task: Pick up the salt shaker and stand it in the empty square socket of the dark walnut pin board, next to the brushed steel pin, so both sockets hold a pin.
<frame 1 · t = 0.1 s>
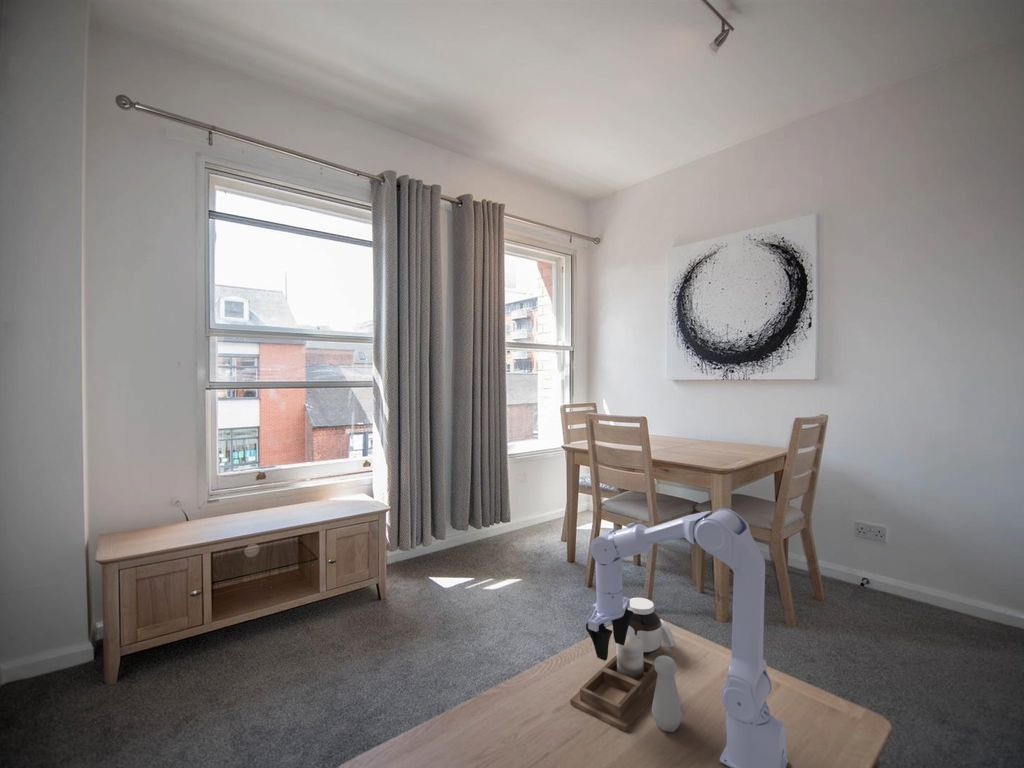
hand: (611, 650, 103), 10 cm above the table, tool pointing down, fingers open, 7 cm apart
spread jar: (648, 647, 122), on the table
pin board: (621, 691, 104), on the table
salt shaker: (667, 725, 94), on the table
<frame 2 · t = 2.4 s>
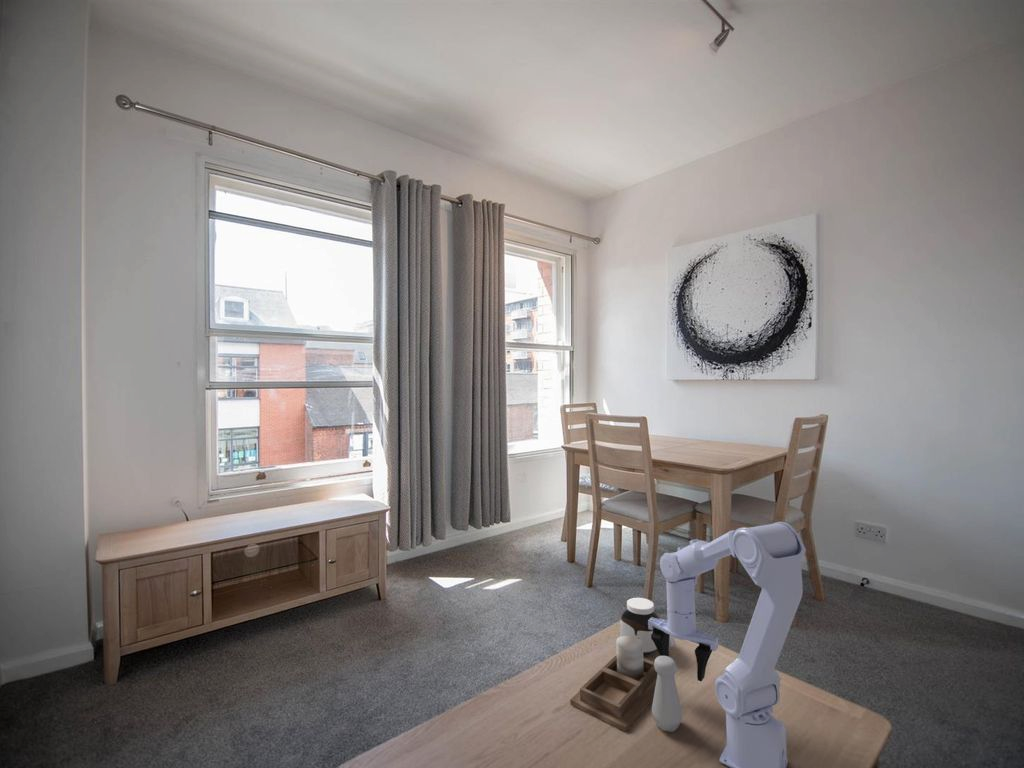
hand: (682, 671, 100), 6 cm above the table, tool pointing down, fingers open, 7 cm apart
nothing on the table moved.
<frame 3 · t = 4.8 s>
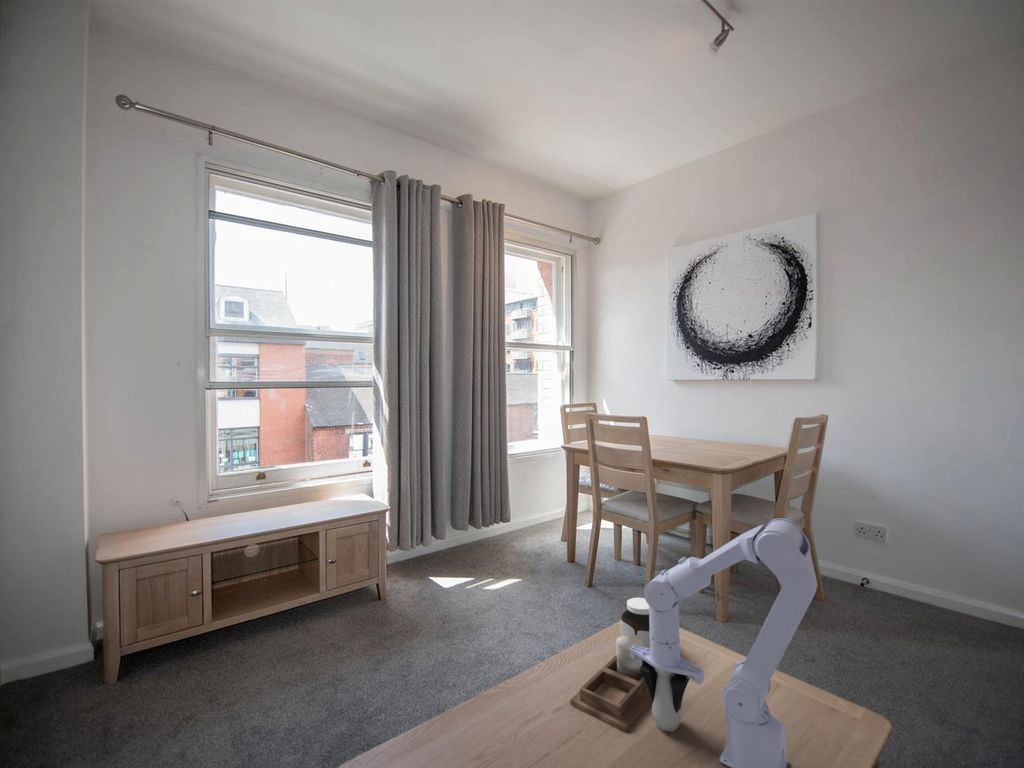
hand: (666, 705, 94), 4 cm above the table, tool pointing down, fingers closed on salt shaker, 4 cm apart
salt shaker: (667, 725, 94), on the table, touching gripper
everything else where it was.
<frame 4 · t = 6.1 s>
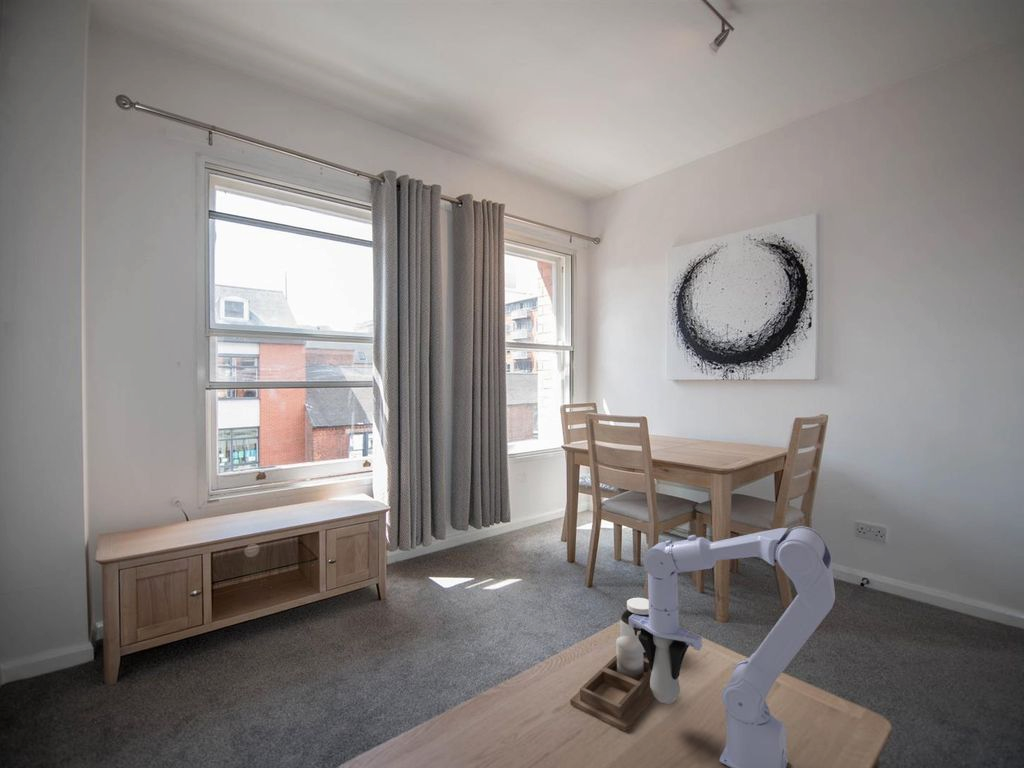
hand: (664, 672, 94), 10 cm above the table, tool pointing down, fingers closed on salt shaker, 4 cm apart
salt shaker: (664, 698, 94), point 5 cm above the table, touching gripper
everything else where it was.
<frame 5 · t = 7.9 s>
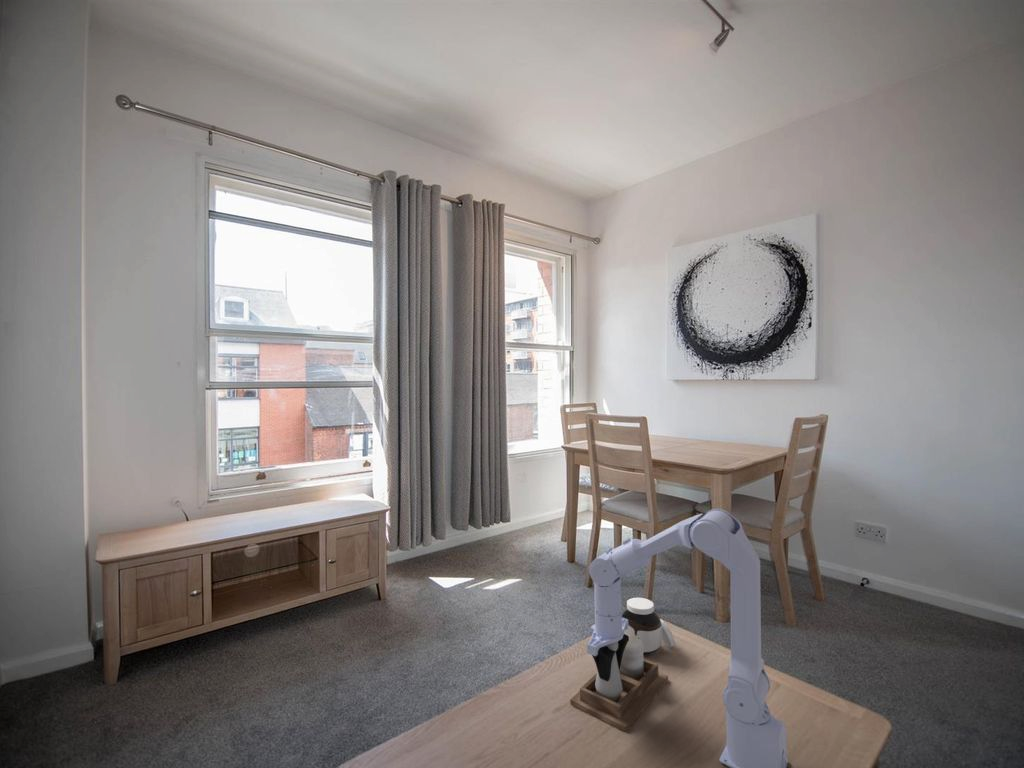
hand: (609, 673, 101), 6 cm above the table, tool pointing down, fingers closed on salt shaker, 4 cm apart
salt shaker: (609, 699, 101), point 1 cm above the table, touching gripper, pin board
everything else where it was.
when the fingers open (6 cm above the table, at t = 8.4 s): salt shaker stays where it is, resting on pin board.
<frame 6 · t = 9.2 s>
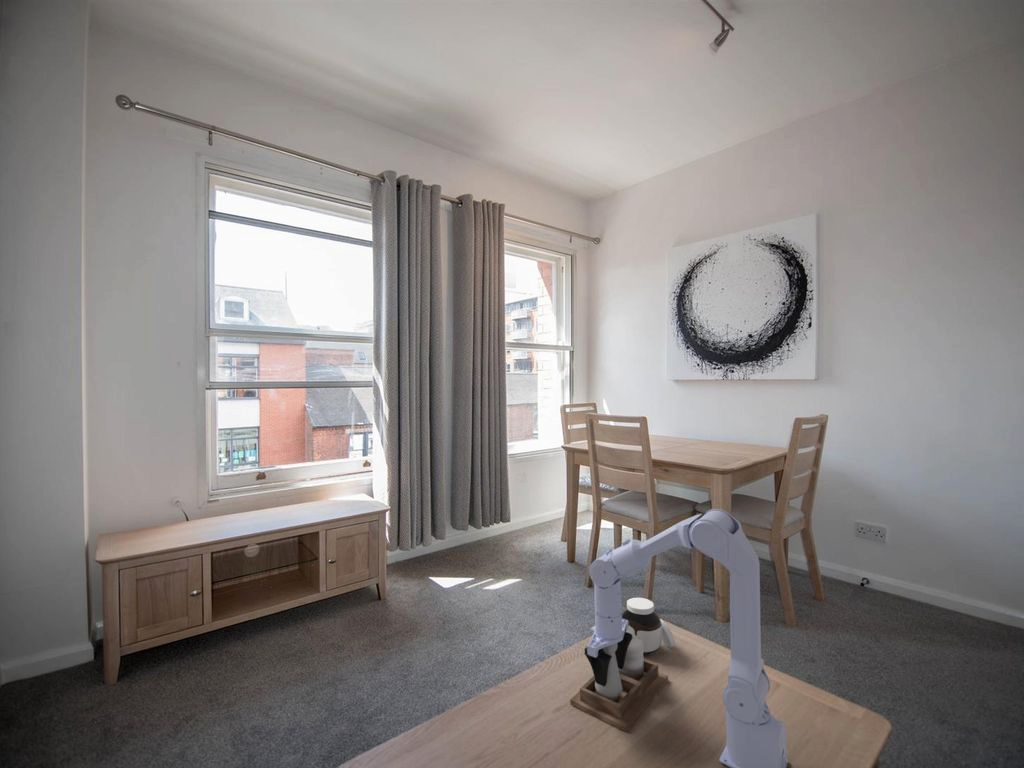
hand: (609, 675, 101), 6 cm above the table, tool pointing down, fingers open, 7 cm apart
salt shaker: (609, 699, 101), point 1 cm above the table, touching pin board
everything else where it was.
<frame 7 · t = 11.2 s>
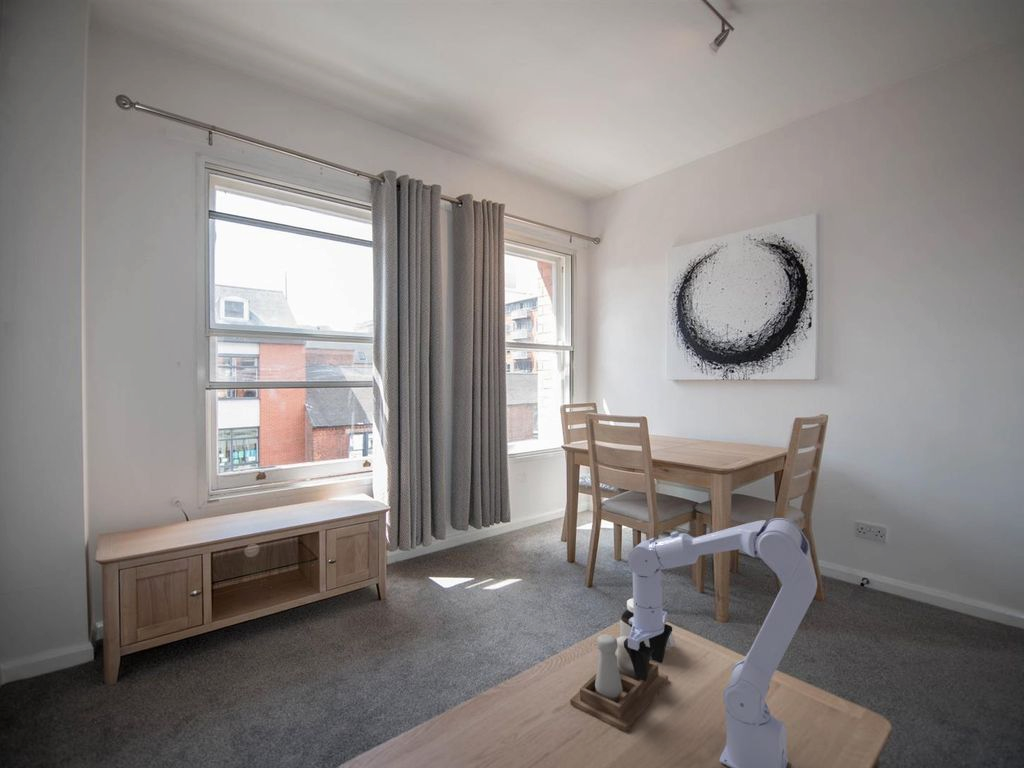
hand: (649, 669, 95), 10 cm above the table, tool pointing down, fingers open, 7 cm apart
nothing on the table moved.
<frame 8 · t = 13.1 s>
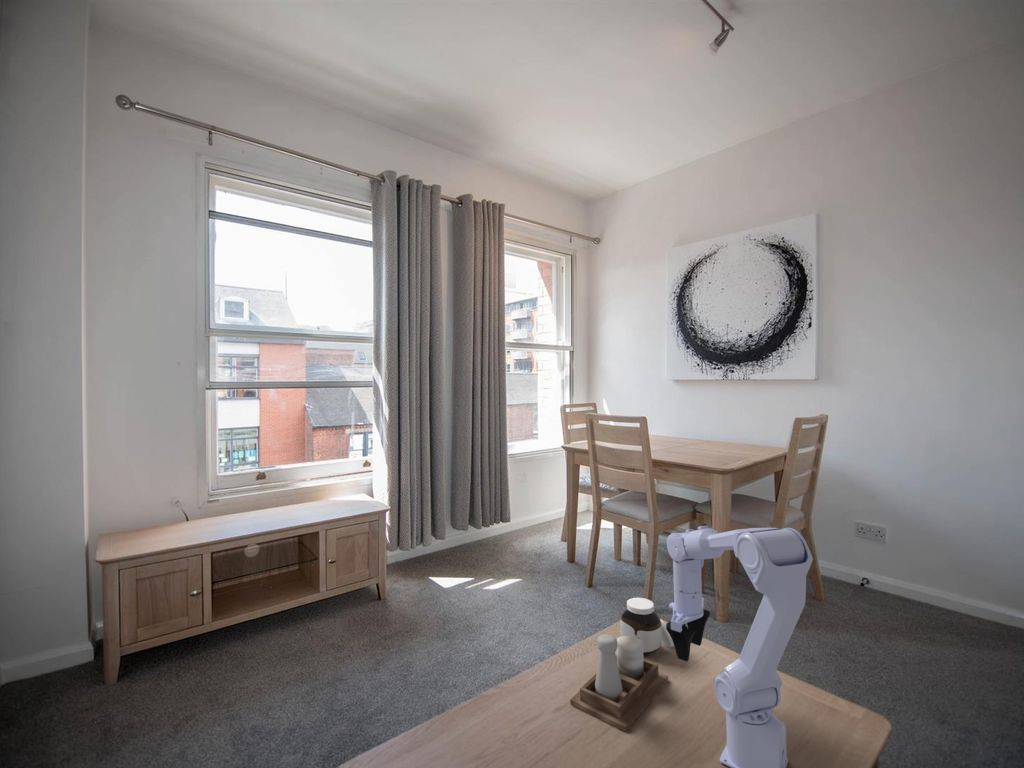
hand: (689, 651, 101), 10 cm above the table, tool pointing down, fingers open, 7 cm apart
nothing on the table moved.
at the end: salt shaker 0.3 cm from the target spot on the pin board, point 0.8 cm above the pin board's base; salt shaker tilted 0°; the gripper is holding nothing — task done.
